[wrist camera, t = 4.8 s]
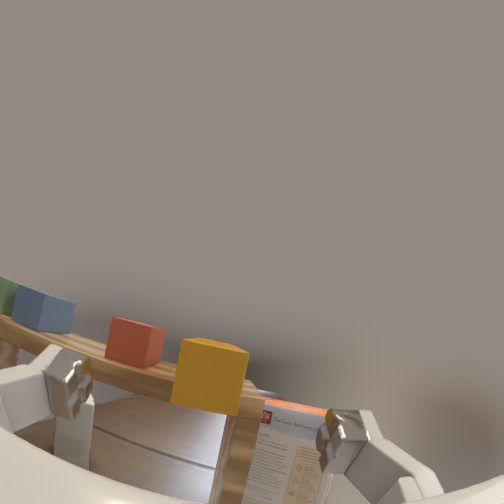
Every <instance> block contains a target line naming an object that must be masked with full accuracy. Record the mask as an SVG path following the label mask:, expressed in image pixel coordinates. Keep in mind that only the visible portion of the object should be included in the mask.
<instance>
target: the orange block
mask: <svg viewBox="0 0 504 504" xmlns="http://www.w3.org/2000/svg"><path fill="white" fill-rule="evenodd" d="M248 359H249V353H248V352H246V351H244V350H242V349H240V348H238V347H236V346H234V345H232V344H227V343H222V342H218V341H213V340H209V339H204V338H189V339H183V340H182V344H181V349H180V354H179V359H178V363H177V368H176V373H175V378H174V383H173V389H172V394H171V399H170V402H171V403H175V404H179V405H184V406H188V407H192V408H197V409H201V410H206V411H211V412H216V413H221V414H226V415H232V416H237V412H238V407H239V402H240V397H241V393H242V388H243V383H244V378H245V373H246V368H247V363H248Z"/></svg>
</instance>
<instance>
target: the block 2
mask: <svg viewBox="0 0 504 504" xmlns="http://www.w3.org/2000/svg"><path fill="white" fill-rule="evenodd" d="M75 307H76V303H74V302H71V301H68V300H65V299H62V298H59V297H56V296H54V295H51V294H47V293H45V292H41V291H38V290H35V289H32V288H30V287H27V286H24V285H21V284H19V286H18V290H17V294H16V299H15V303H14V308H13V312H12V317H11V320H13V321H15V322H17V323H20V324H22V325H24V326H26V327H28V328H31V329H33V330H35V331H39V332H50V333H63V334H70V329H71V325H72V320H73V316H74V311H75Z"/></svg>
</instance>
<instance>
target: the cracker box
mask: <svg viewBox="0 0 504 504" xmlns="http://www.w3.org/2000/svg"><path fill="white" fill-rule="evenodd" d="M264 398H265V405H264V409H263V414H262V418H261V423H260V427H259V432H258V436H257V441H256V445H255V449H254V454H253V458H252V462H251V466H250V470H249V475H248V479H247V483H246V487H245V491H244V495H243V499H242V502H241V504H326V501H327V498H328V495H329V492H330V488H331V485H332V482H333V478H334V475H335V474H329V473H322V472H321V468H320V463H319V458H320V456H321V455H322V454H320V453H319V452H318V451H317V449H316V435H317V431H318V429H319V427H320V425H322V424H323V423H325V422H326V420H325V415H326V413H327V411H328V410H325V409H320V408H315V407H310V406H305V405H300V404H295V403H290V402H285V401H281V400H276V399H272V398H267V397H264Z"/></svg>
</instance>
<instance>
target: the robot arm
mask: <svg viewBox="0 0 504 504" xmlns="http://www.w3.org/2000/svg"><path fill="white" fill-rule="evenodd" d="M90 369H91V360H90V359H89V358H88V357H86V356H83V355H81V354H78V353H76V352H73V351H71V350H68V349H66V348H63V347H60V346H58V345H56V344H50V345H49V346H48V347H47V348H46V349H45V350H44V351H43V352H42V353H41V354H40V355H38V356H37V357H36V358H35V359H34V360H33V361H32V362H31V363H30V364H29V365H26V364H23V365H19V366H14V367H10V368H5V369H1V370H0V504H206V503H200V502H194V501H189V500H184V499H180V498H175V497H171V496H167V495H163V494H159V493H155V492H151V491H147V490H144V489H140V488H137V487H134V486H130V485H127V484H124V483H121V482H118V481H115V480H112V479H109V478H107V477H104V476H101V475H98V474H96V473H93V472H91V471H88V470H86V469H83V468H81V467H78V466H76V465H74V464H71V463H69V462H67V461H65V460H63V459H60V458H58V457H56V456H54V455H52V454H50V453H48V452H46V451H44V450H42V449H40V448H38V447H36V446H34V445H32V444H30V443H29V442H27V441H25V440H23V439H21V438H20V437H18V436H16V435H15V434H14V432H16V431H18V430H20V429H22V428H24V427H27V426H29V425H31V424H33V423H35V422H37V421H39V420H41V419H44V418H46V417H48V416H50V415H52V413H53V414H55V415H57V416H60V417H62V418H64V419H67V420H69V421H72V422H73V421H74V420H75V418H76V417H77V415H78V414H79V412H80V411H81V407H80V404H82V403H85V402H86V401H87V400H88V398H89V396H90V393H91V390H92V377H91V375H90V374H89V370H90ZM325 420H326V422H325V423H323V424H322V425H320V427H319V429H318V431H317V435H316V449H317V451H318V452H319V453H320V454H322V455H321V456H320V458H319V463H320V468H321V472H322V473H329V474H344V475H345V476H346V477H347V478H348V479H349V481H350V482H351V483H352V484H353V485H354V486H355V487H356V488H357V489H358V490H359V491H360V492H361V493H362V494H363V496H365V498H366V499H367V500H368V501H369V502H370V503H371V504H504V474H503V475H500V476H498V477H496V478H493V479H490V480H488V481H485V482H482V483H479V484H476V485H473V486H470V487H467V488H464V489H460V490H457V491H453V492H450V493H446V494H445V493H444V491H443V489H442V487H441V485H440V483H439V481H438V479H437V477H436V475H435V473H434V471H432V470H431V469H429V468H428V467H426V466H424V465H423V464H422V463H420V462H419V461H417V460H416V459H414V458H413V457H412V456H410V455H409V454H407V453H406V452H404V451H403V450H401V449H400V448H399V447H397V446H396V445H394V444H393V443H392V442H390V441H389V440H384V438H383V436H382V433H381V431H380V429H379V427H378V425H377V422H376V421H375V418H374V416H373V414H372V412H371V411H370V410H344V409H329V410H328V411H327V413H326V415H325Z"/></svg>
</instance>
